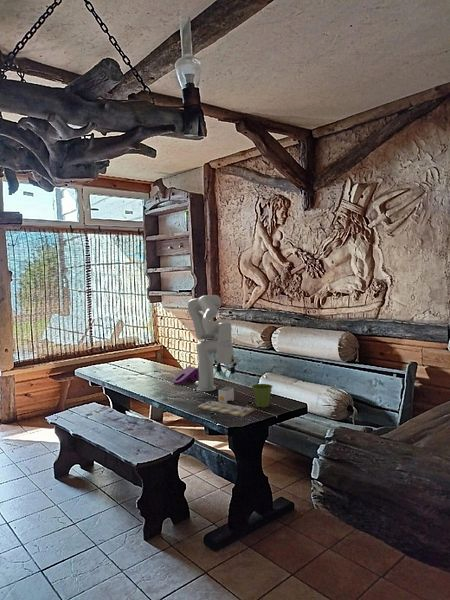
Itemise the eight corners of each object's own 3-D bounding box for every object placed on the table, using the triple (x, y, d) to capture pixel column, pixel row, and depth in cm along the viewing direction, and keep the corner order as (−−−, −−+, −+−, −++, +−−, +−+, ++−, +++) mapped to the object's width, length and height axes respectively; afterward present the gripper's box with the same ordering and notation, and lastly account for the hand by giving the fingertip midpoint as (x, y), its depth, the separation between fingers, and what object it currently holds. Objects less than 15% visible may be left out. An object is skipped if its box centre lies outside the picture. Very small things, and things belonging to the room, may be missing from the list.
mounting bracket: (183, 393, 308) (201, 377, 318) (178, 383, 305) (196, 367, 315) (174, 390, 315) (192, 375, 325) (170, 381, 312) (188, 365, 322)
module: (218, 403, 264) (217, 389, 263) (227, 399, 271) (226, 386, 271) (225, 404, 261) (224, 390, 261) (233, 400, 269) (233, 387, 268)
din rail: (205, 404, 258) (205, 401, 258) (208, 403, 261) (208, 400, 261) (243, 412, 243) (243, 409, 243) (247, 410, 246) (247, 407, 246)
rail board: (197, 407, 256) (197, 406, 256) (210, 402, 266) (210, 400, 266) (242, 416, 239) (242, 415, 239) (254, 410, 248) (254, 409, 248)
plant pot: (277, 405, 258) (276, 385, 257) (264, 410, 249) (264, 390, 248) (260, 401, 265) (260, 382, 265) (247, 406, 257) (247, 386, 256)
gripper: (209, 343, 266) (210, 372, 267) (233, 345, 256) (234, 375, 257) (216, 341, 272) (217, 370, 273) (241, 343, 262) (241, 373, 263)
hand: (225, 372), depth 265 cm, fingers open, 9 cm apart
